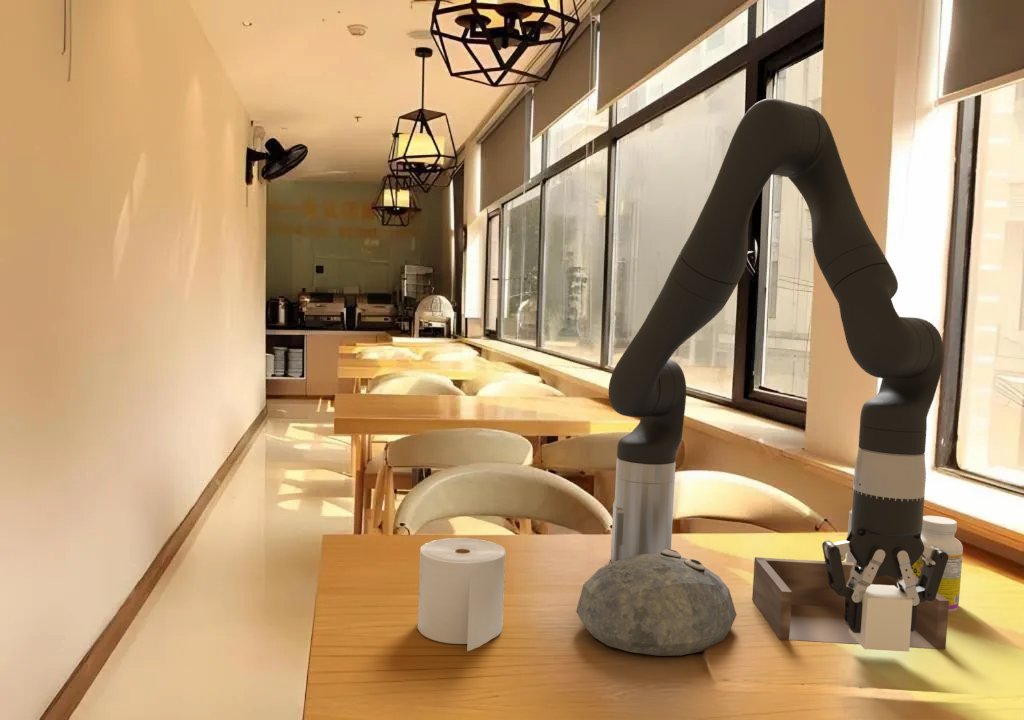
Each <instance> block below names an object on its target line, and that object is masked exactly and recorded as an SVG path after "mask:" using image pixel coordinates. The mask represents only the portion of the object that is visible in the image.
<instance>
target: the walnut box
mask: <svg viewBox="0 0 1024 720" xmlns="http://www.w3.org/2000/svg"><path fill="white" fill-rule="evenodd" d="M753 563H754V564H753V579H752V581H753V582H752V599H751V600H752V602H753V603H754V604H755V605H756V608H757V609H758V610H759V612H760V613H761V616H763V618H764V619H765V621H766V622H767V624H768V625H769V627H770V628H771V630H772V631H773V633H774V634H775V635H776V637H777V639H778V640H779V641H781V640H783V641H798V642H799V641H800V642H813V643H830V644H831V643H833V644H848V645H849V644H850V645H860V644H859V643H858V642H857V641H856V639H855V638H854V637H853V636H852V635H851V634H850V633H849V626H848V625H847V624H846V623H845V620H844V615H845V614H844V613H845V597H843V596H839V595H838V594H837V593H836V592H835V591H834V590H833V589H832V588H831V587H830V585H829V580H828V574H827V569H826V564H825V560H811V559H795V558H794V559H792V558H776V557H773V558H772V557H756V556H755V557H754V562H753ZM853 565H854V563H849V562H846V561H845V562H844V561H842V566H843V572H844V577H845V583H846V585H847V583H848V580H849V578H850V572H851V569H852V567H853ZM914 578H915V582H916V585H915V586H916V587H917V583H918V580H919V578H917V577H916V576H915V575H914ZM872 584H875V585H893V586H896V587H897V588H898V586H897V583H896V581H895V579H894V578H893V577H890V576H887V575H886V576H881V577H874V579H873V581H872ZM948 609H949V601H948V600H947V599H946V598H944V597H943V596H942V595H940V594H939V593H938V592H937V595H936V598H935V599H934V600H933V601H928V600H926V601H922V602H920V603H919V604H918V605H917V609H916V622H915V623H916V624H915V629H914V631H910V646H909V648H915V649H931V650H946V648H947V647H946V646H947V636H948V635H947V634H948V623H949V622H948V620H949V611H948Z"/></svg>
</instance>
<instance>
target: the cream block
mask: <svg viewBox="0 0 1024 720" xmlns="http://www.w3.org/2000/svg"><path fill="white" fill-rule="evenodd" d="M861 602H862V603H863V605H862V621H861V632H860V633H853V632H852V630H851V629H850V628H849V633H850V634H851V635H852V636H853V637H854V638H855V639H856V641H857V642H858V643H859V644H858V645H860V646H861V647H862V648H863V649H864V650H874V651H888V652H890V651H891V652H892V651H893V652H910V647H909V646H910V631H911V617H912V602H913V600H912V599H911V598H909V597H908V596H906V594H904V593H903V592H902V591H900V590H899V589H898V588H897V587H896V586H893V585H875V584H871V585H870V586H868V587H867V589H866V592H865V594H864V595H863V598H862V600H861Z"/></svg>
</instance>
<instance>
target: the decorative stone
mask: <svg viewBox="0 0 1024 720" xmlns="http://www.w3.org/2000/svg"><path fill="white" fill-rule="evenodd" d="M575 612H576V614H577V616H578V617H579V619H580V620H581V623H582V624H583V625H584V627H585V628H586V629H587V631H588V632H589V633H590V635H591V636H592V637H593V638H595V639H597V640H599V642H601V643H603V644H605V645H606V646H607V647H611V648H615V649H618V650H621V651H622V650H623V651H624V652H630V653H634V654H643V655H650V656H659V657H660V656H663V657H665V656H684V655H688V654H689V655H690V654H695V653H699V652H704V651H705V649H708V648H710V647H713V646H715V645H716V644H718V643H720V642H722V641H724V640H725V638H726V636H727V635H728V633H729V632H730V630H731V629H732V626H733V624H734V622H735V620H736V618H737V615H738V614H737V611H736V608H735V604H734V601H733V598H732V595H731V592H730V588H729V587H728V586H727V584H726V583H725V582H724V581H723V580H722V578H721V577H720V576H719V575H718V574H716V573H715V572H713V571H711V570H710V569H708V568H707V567H705V566H704V564H703V563H702V562H701V561H699V560H696V559H692V558H686V557H682V555H681V554H680V552H678V551H676V550H673V549H671V550H670V549H665V550H663V551H661V554H642V555H638V556H633V557H629V558H625V559H621V560H618V561H615V562H613V563H612V562H610V563H609V564H606V565H604V566H603V567H600V568H598V569H597V570H596V571H595V572H594V574H592V575H591V576H590V577H589V579H587V580H586V581H585V582H584V584H583V585H582V587H581V591H580V595H579V599H578V603H577V607H576V610H575Z"/></svg>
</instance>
